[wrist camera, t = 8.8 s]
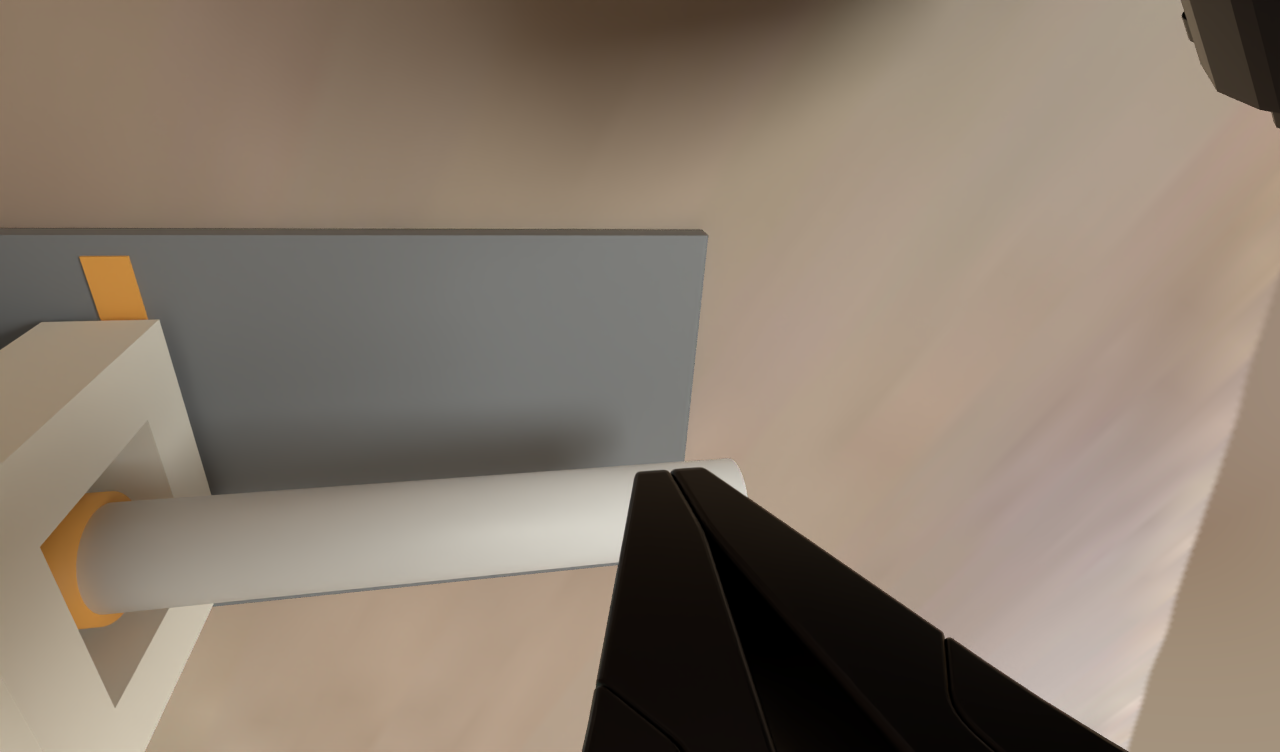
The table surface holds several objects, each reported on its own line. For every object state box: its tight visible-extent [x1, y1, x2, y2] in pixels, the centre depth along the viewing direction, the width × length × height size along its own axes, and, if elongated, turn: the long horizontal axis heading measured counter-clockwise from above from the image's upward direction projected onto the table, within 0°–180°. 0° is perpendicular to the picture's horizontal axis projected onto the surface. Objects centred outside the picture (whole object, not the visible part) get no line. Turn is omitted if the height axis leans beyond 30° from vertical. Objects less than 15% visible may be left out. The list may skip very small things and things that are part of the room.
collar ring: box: [0, 319, 214, 752], centre depth 15 cm, size 2×8×8 cm, turn 177°
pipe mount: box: [0, 228, 747, 629], centre depth 16 cm, size 24×12×8 cm, turn 86°
